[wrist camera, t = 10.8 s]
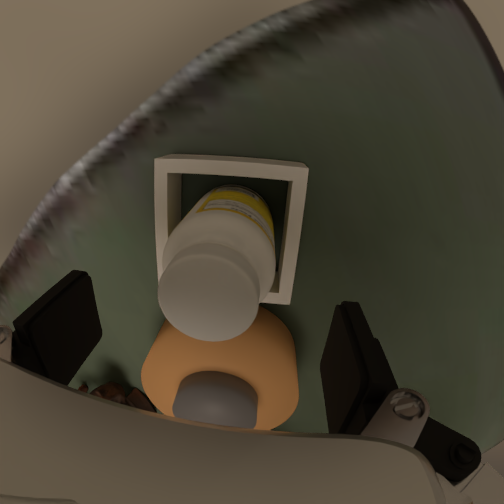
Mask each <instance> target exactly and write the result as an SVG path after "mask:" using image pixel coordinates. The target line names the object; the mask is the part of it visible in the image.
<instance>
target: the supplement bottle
mask: <svg viewBox="0 0 504 504" xmlns="http://www.w3.org/2000/svg"><path fill="white" fill-rule="evenodd" d="M162 267H163V274H162V276H161V278H160V281H159V285H158V301H159V305H160V307H161V310H162V312H163V314H164V315H165V317H166V318H167V320H168V321H169V322H170V323H171V324H172V325H173V326H174V327H175V328H176V329H178V330H179V331H180V332H182V333H184V334H186V335H188V336H190V337H192V338H195V339H198V340H203V341H212V342H215V341H224V340H229V339H232V338H234V337H237V336H239V335H240V334H242V333H243V332H245V331H246V330H247V329H248V328H249V327H250V326H251V324H252V323H253V321H254V319H255V318H256V315H257V312H258V306H259V303H261V302H262V300H263V299H264V298H265V297H266V296H267V294H268V292H269V291H270V289H271V287H272V284H273V281H274V277H275V268H276V258H275V242H274V227H273V219H272V215H271V211H270V209H269V207H268V205H267V204H266V202H265V201H264V200H263V198H262V197H261V196H260V195H259V194H257V193H256V192H255V191H253V190H251V189H249V188H247V187H244V186H240V185H224V186H220V187H217V188H215V189H212V190H211V191H209V192H208V193H206V194H205V195H204V196H203V197H202V198H201V199H200V200H199V201H198V202H197V203H196V204H195V206H194V207H193V208H192V209H191V210H190V211H189V212H188V214H187V215H186V216H185V217H184V218H183V220H182V221H181V222H180V223H179V224H178V225H177V227H176V228H175V229H174V230H173V232H172V233H171V235H170V236H169V238H168V240H167V242H166V244H165V247H164V251H163V257H162Z"/></svg>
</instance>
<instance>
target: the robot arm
mask: <svg viewBox="0 0 504 504" xmlns="http://www.w3.org/2000/svg"><path fill="white" fill-rule="evenodd" d="M13 325H14V327H15V331H14V332H12V329H11V328H10V327H9V326H7V325H0V504H504V478H503V477H502V476H501V475H500V474H499V473H498V472H496V470H494V469H493V468H492V467H491V466H490V465H489V464H488V463H487V462H486V463H485V464H484V465H483V464H482V463H481V452H480V449H479V447H478V446H477V444H476V443H475V442H474V441H472V440H471V439H469V438H467V437H465V436H463V435H461V434H459V433H458V432H456V431H454V430H452V429H450V428H448V427H446V426H444V425H443V424H441V423H439V422H437V421H435V420H433V419H432V418H430V417H428V416H429V412H430V407H429V403H428V402H427V400H426V398H425V397H424V396H423V395H422V394H420V393H419V392H417V391H415V390H412V389H408V388H400V389H398V386H397V384H396V381H395V378H394V376H393V373H392V371H391V368H390V366H389V364H388V361H387V359H386V356H385V354H384V352H383V349H382V347H381V344H380V342H379V340H378V339H376V338H374V337H373V335H372V332H371V330H370V328H369V325H368V323H367V321H366V318H365V316H364V314H363V311H362V309H361V307H360V305H359V303H358V302H348V301H343V302H342V303H341V305H336V307H335V311H334V315H333V319H332V323H331V327H330V330H329V334H328V338H327V341H326V345H325V348H324V352H323V355H322V359H321V363H320V372H321V378H322V385H323V392H324V399H325V406H326V414H327V421H328V429H329V434H328V433H302V432H283V431H270V430H259V429H248V428H239V427H231V426H223V425H216V424H210V423H203V422H198V421H192V420H187V419H181V418H176V417H172V416H167V415H162V414H158V413H154V412H149V411H145V410H141V409H138V408H134V407H130V406H126V405H123V404H119V403H116V402H113V401H109V400H106V399H103V398H100V397H97V396H94V395H91V394H88V393H85V392H82V391H79V390H76V389H74V388H71V387H68V384H69V383H70V381H71V380H72V378H73V377H74V375H75V374H76V373H77V371H78V370H79V368H80V367H81V365H82V364H83V363H84V361H85V360H86V358H87V357H88V356H89V354H90V353H91V352H92V350H93V349H94V347H95V346H96V345H97V343H98V342H99V341H100V339H101V337H102V328H101V324H100V320H99V315H98V311H97V306H96V301H95V296H94V291H93V285H92V280H91V277H90V276H88V273H87V272H85V271H79V270H73V271H71V272H70V273H69V274H67V275H66V276H65V277H64V278H63V279H61V280H60V281H59V282H58V283H56V284H55V285H54V286H53V287H52V288H50V289H49V290H48V291H47V292H46V293H45V294H43V295H42V296H41V297H40V298H39V299H38V300H36V301H35V302H34V303H33V304H32V305H31V306H30V307H28V308H27V309H26V310H25V311H24V312H23V313H22V314H21V315H20V316H19V317H17V318H16V319H15V320H14V321H13Z"/></svg>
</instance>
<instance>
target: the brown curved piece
mask: <svg viewBox="0 0 504 504" xmlns="http://www.w3.org/2000/svg"><path fill="white" fill-rule="evenodd" d="M78 390H79V391H82V392H85V393H86V392H87V391H88V387H87V386H86V385H84V384H83V385H82V386H81V387H79V389H78ZM90 394H91V395H94V396H97V397H100V398H103V399H106V400H109V401H113V402H116V403H119V404H123V405H126V406H130V407H134V408H138V409H141V410H145V411H149V412H154V413H156V412H155V410H154V409H153V407H152V405H151V404H150V403H149V401H148V400H147V399H146V397H145V396H144V395H143V394H142V393H141V392H140V391H139V390H138V389H137V388H134V389H133V390H132V392H131V393H130V394H129V395H128V396H127V397H125V392H124V389H123V387H122V386H121V385H120V384H117V383H114V382H108V383H106V384H104V385H101V386H99V387H97V388H96V389H94V390H93V391H92V392H91V393H90Z"/></svg>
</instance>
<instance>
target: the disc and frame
mask: <svg viewBox="0 0 504 504" xmlns="http://www.w3.org/2000/svg"><path fill="white" fill-rule="evenodd" d="M308 171H309V168H308V167H307V166H306V165H305V164H304V163H301V162H293V161H283V160H273V159H262V158H249V157H235V156H218V155H193V154H169V155H166V156H162V157H159V158H155V159H154V201H155V234H156V253H157V268H158V281H160V278H161V276H162V274H163V267H162V257H163V251H164V247H165V244H166V242H167V240H168V238H169V236H170V235H171V233H172V232H173V230H174V229H175V228H176V227H177V225H178V224H179V223H180V222H181V190H182V173H191V174H211V175H227V176H242V177H254V178H266V179H276V180H286V181H288V190H287V199H286V208H285V217H284V226H283V234H282V243H281V251H280V259H279V267H278V272H277V271H275V277H274V281H273V284H272V287H271V289H270V291H269V292H268V294H267V296H266V297H265V298H264V299H263V300H262V302H261V303H273V304H285V305H290V300H291V294H292V288H293V282H294V275H295V269H296V262H297V256H298V249H299V242H300V235H301V227H302V220H303V212H304V205H305V197H306V189H307V180H308ZM141 380H142V385H143V388H144V391H145V392H146V394H147V396H148V398H149V399H150V400H151V402H152V403H153V404H154V405H155V406H156V407H157V408H158V409H159V410H160V411H161V412H162V413H163V414H165V415H167V416H172V417H176V418H181V419H187V420H192V421H198V422H203V423H210V424H216V425H223V426H231V427H239V428H248V429H259V430H271V429H273V428H275V427H277V426H279V425H281V424H282V423H283V422H285V421H286V420H287V419H288V418H289V417H290V416H291V415H292V413H293V412H294V411H295V409H296V406H297V404H298V399H299V389H298V375H297V363H296V351H295V344H294V340H293V338H292V335H291V333H290V331H289V330H288V328H287V327H286V326H285V324H284V323H283V322H282V321H281V320H280V319H279V318H278V317H277V316H276V315H274V314H273V313H271V312H270V311H268V310H267V309H265V308H263V307H261V306H258V312H257V315H256V318H255V319H254V321H253V323H252V324H251V326H250V327H249V328H248V329H247V330H246V331H245V332H243V333H242V334H240V335H239V336H237V337H234V338H232V339H229V340H224V341H215V342H212V341H203V340H198V339H195V338H192V337H190V336H188V335H186V334H184V333H182V332H180V331H179V330H178V329H176V328H175V327H174V326H173V325H172V324H171V323H170V322H169V321H168V320H167V318H166V319H165V321H164V323H163V325H162V327H161V329H160V331H159V333H158V335H157V337H156V339H155V341H154V343H153V345H152V347H151V349H150V352H149V354H148V356H147V358H146V360H145V362H144V364H143V367H142V371H141Z"/></svg>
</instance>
